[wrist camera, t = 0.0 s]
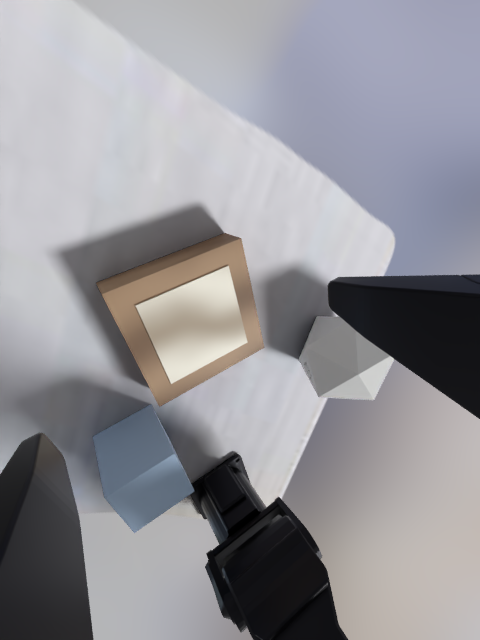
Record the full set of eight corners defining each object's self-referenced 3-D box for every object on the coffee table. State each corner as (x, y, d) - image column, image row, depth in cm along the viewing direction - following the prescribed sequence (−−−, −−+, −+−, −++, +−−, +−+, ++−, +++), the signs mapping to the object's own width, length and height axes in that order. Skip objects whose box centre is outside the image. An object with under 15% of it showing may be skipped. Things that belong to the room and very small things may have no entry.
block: (169, 439, 29) (194, 491, 24) (118, 471, 27) (134, 532, 22) (150, 403, 26) (174, 453, 21) (92, 436, 24) (104, 497, 20)
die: (267, 340, 31) (321, 432, 28) (339, 286, 27) (413, 386, 24) (300, 337, 38) (347, 409, 35) (361, 293, 34) (421, 371, 31)
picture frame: (249, 335, 29) (264, 348, 27) (150, 389, 25) (159, 407, 23) (224, 232, 24) (241, 238, 22) (95, 282, 20) (101, 294, 18)
